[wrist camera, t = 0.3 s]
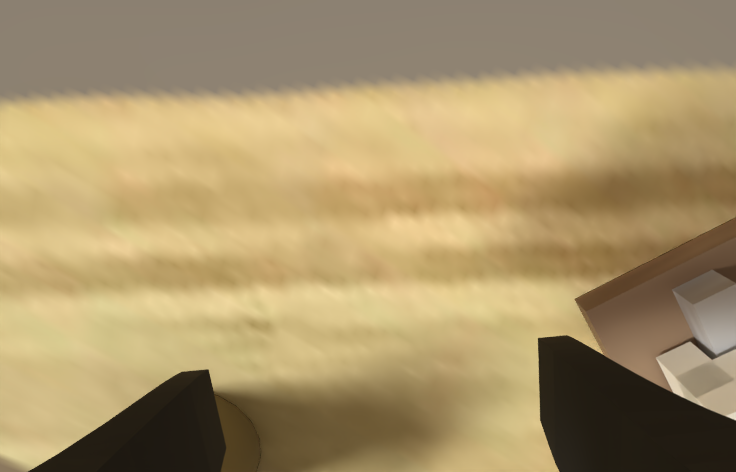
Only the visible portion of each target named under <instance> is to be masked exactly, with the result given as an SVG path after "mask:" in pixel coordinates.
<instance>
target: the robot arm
mask: <svg viewBox="0 0 736 472" xmlns="http://www.w3.org/2000/svg"><path fill="white" fill-rule="evenodd" d="M538 353H539V388H540V421H541V424H542V427H543V429H544V432H545V435H546V438H547V441H548V444H549V447H550V450H551V452H552V455H553V458H554V460H555V463H556V465H557V467H558V469H559V471H560V472H736V420H734V419H731V418H729V417H726V416H724V415H721V414H719V413H717V412H714V411H712V410H709V409H707V408H705V407H703V406H700V405H698V404H696V403H694V402H691V401H689V400H687V399H685V398H683V397H681V396H679V395H677V394H675V393H673V392H671V391H669V390H667V389H665V388H663V387H661V386H659V385H657V384H655V383H653V382H651V381H649V380H647V379H645V378H643V377H642V376H640V375H638V374H636V373H634V372H632V371H631V370H629V369H627V368H625V367H623V366H622V365H620V364H618V363H616V362H615V361H613V360H611V359H609V358H608V357H606V356H604V355H602V354H601V353H599V352H597V351H595V350H594V349H592V348H590V347H588V346H587V345H585V344H583V343H581V342H579V341H578V340H576V339H574V338H572V337H570V336H567V335H566V336H556V337H545V338H538ZM226 448H227V447H226V443H225V439H224V434H223V430H222V426H221V422H220V417H219V413H218V409H217V404H216V400H215V396H214V391H213V387H212V383H211V379H210V374H209V370H197V371H187V372H181V373H179V374H177V375H175V376H173V377H172V378H170V379H169V380H167V381H165V382H164V383H162V384H161V385H159V386H158V387H156V388H155V389H154V390H152V391H151V392H149V393H148V394H146V395H145V396H143V397H142V398H141V399H139V400H138V401H136V402H135V403H133V404H132V405H131V406H129V407H128V408H126V409H125V410H123V411H122V412H121V413H119V414H118V415H116V416H115V417H113V418H112V419H111V420H109V421H108V422H106V423H105V424H103V425H102V426H100V427H99V428H97V429H96V430H94V431H93V432H91V433H90V434H88V435H86V436H85V437H83V438H82V439H80V440H79V441H77V442H76V443H74V444H73V445H71V446H70V447H68V448H67V449H65V450H63V451H62V452H60V453H59V454H57V455H56V456H54V457H52V458H51V459H49V460H47V461H46V462H44V463H42V464H40V465H39V466H37V467H35V468H34V469H32V470H30V471H28V472H221V468H222V464H223V460H224V456H225V452H226Z"/></svg>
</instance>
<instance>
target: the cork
mask: <svg viewBox="0 0 736 472" xmlns="http://www.w3.org/2000/svg"><path fill="white" fill-rule="evenodd" d="M214 396H215V400H216V404H217V409H218V413H219V417H220V422H221V426H222V430H223V434H224V439H225V443H226V447H227V448H226V452H225V456H224V460H223V464H222V468H221V472H256V471H257V467H258V464H259V460H260V456H261V451H260V443H259V437H258V435H257V433H256V431H255V429H254V427H253V425H252V423H251V421H250V420H249V419H248V418H247V417H246V416H245V415H244V413H243V412H242V411H241V410H240V409H239V408H238V407H237V406H235V405H233V404H232V403H230V402H228V401H226V400H224V399H223V398H221V397H219V396H217V395H214Z"/></svg>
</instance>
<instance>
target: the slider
mask: <svg viewBox="0 0 736 472" xmlns="http://www.w3.org/2000/svg"><path fill="white" fill-rule="evenodd" d="M656 359H657V361H658V363H659V365H660V367H661V369H662V371H663V373H664V375H665V377H666V379H667V381H668V383H669V385H670V387H671V389H672V391H673V393H675V394H677V395H679V396H681V397H683V398H685V399H687V400H689V401H691V402H694V403H696V404H698V405H700V406H703V407H705V408H707V409H709V410H712V411H714V412H717V413H719V414H721V415H724V416H726V417H729V418H731V419H734V420H736V349H735V350H733V351H730V352H728V353H726V354H724V355H722V356H720V357H718V358H715V359H713V360H711V359H710V358H709V357H708V356H707V355H705V354H704V353H703V352H702V351H701V350H699V349H698V348H697V347H696V346H695V345H694V344H692V343H691V342H688V343H686V344H683V345H681V346H679V347H677V348H675V349H673V350H671V351H669V352H667V353H664V354H662V355H660V356H658V357H656Z"/></svg>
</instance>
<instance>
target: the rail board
mask: <svg viewBox="0 0 736 472" xmlns="http://www.w3.org/2000/svg"><path fill="white" fill-rule="evenodd" d="M575 301H576V303H577V305H578V306H579V308H580V310H581V312H582V314H583V316H584V318H585V320H586V322H587V323H588V325H589V327H590V329H591V331H592V333H593V335H594V337H595V339H596V340H597V342H598V344H599V346H600V348H601V350H602V352H603V354H604V356H606V357H608V358H609V359H611V360H613V361H615V362H616V363H618V364H620V365H622V366H623V367H625V368H627V369H629V370H631V371H632V372H634V373H636V374H638V375H640V376H642V377H643V378H645V379H647V380H649V381H651V382H653V383H655V384H657V385H659V386H661V387H663V388H665V389H667V390H669V391H671V392H673V391H672V389H671V387H670V385H669V383H668V381H667V379H666V377H665V375H664V373H663V371H662V369H661V367H660V365H659V363H658V361H657V359H656V357H658V356H660V355H662V354H664V353H667V352H669V351H671V350H673V349H675V348H677V347H679V346H681V345H683V344H686V343H688V342H691V343H692V344H694V345H695V346H696V347H697V348H698V349H699V350H701V351H702V352H703V353H704V354H705V355H707V356H708V357H709V358H710V359H711V360H713V359H715V358H718V357H720V356H722V355H724V354H726V353H728V352H730V351H733V350H735V349H736V218H734V219H732V220H730V221H728V222H726V223H724V224H722V225H720V226H718V227H716V228H715V229H713V230H711V231H709V232H707V233H705V234H703V235H701V236H699V237H697V238H695V239H693V240H691V241H689V242H687V243H685V244H683V245H681V246H679V247H677V248H675V249H673V250H671V251H669V252H667V253H665V254H663V255H661V256H659V257H657V258H655V259H653V260H651V261H649V262H647V263H645V264H643V265H641V266H639V267H638V268H636V269H634V270H632V271H630V272H628V273H626V274H624V275H622V276H620V277H618V278H616V279H614V280H612V281H610V282H608V283H606V284H604V285H602V286H600V287H598V288H596V289H594V290H592V291H590V292H588V293H586V294H584V295H582V296H580V297H578V298H576V299H575Z"/></svg>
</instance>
